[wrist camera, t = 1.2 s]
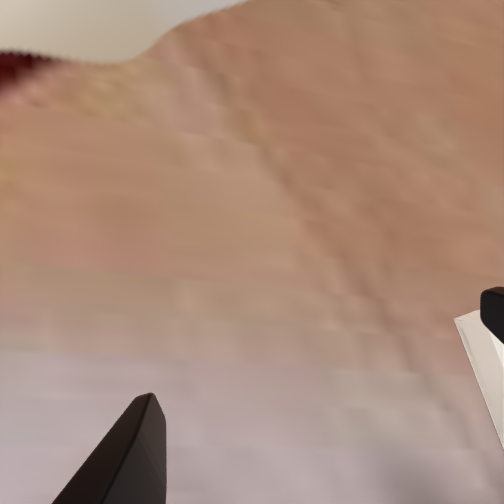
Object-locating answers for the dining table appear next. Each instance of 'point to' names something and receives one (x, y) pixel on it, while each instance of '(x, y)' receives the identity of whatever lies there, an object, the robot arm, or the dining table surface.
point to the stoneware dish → (485, 364)
